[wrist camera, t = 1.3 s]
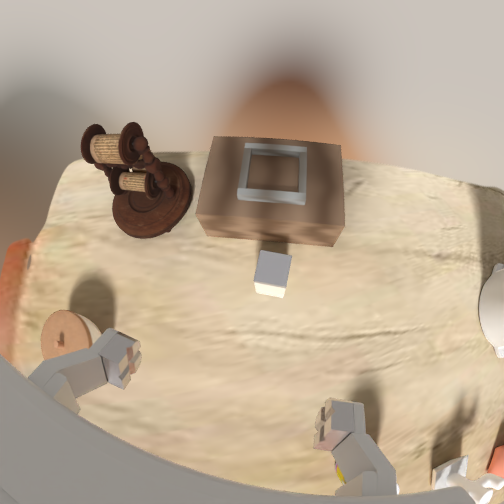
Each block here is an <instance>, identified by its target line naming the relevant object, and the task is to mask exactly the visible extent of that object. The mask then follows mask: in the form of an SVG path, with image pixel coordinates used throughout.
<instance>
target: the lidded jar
mask: <svg viewBox="0 0 504 504" xmlns="http://www.w3.org/2000/svg"><path fill="white" fill-rule="evenodd" d="M101 335H102V334H101V332H100V331H99V329H98V328H97V326H96V325H95V324H94V323H93V322H92V321H90V320H89V319H87V318H86V317H84V316H82V315H80V314H77V313H74V312H72V311H68V310H59V311H56V312H54V313H53V314H52V315H51V316H50V317H49V318H48V319H47V320H46V322H45V324H44V327H43V330H42V334H41V349H42V354H43V357H44V360H48V359H51V358H55V357H58V356H61V355H65V354H68V353H71V352H75V351H78V350H81V349H84V348H87V349H89V348H90V347H91V346H92V345H93V344H94V343H95V341H96V340H97V339H98V338H99V337H100V336H101Z"/></svg>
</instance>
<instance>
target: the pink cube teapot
mask: <svg viewBox="0 0 504 504" xmlns="http://www.w3.org/2000/svg"><path fill="white" fill-rule="evenodd" d="M487 473H491V474H494V475H497V476H499V477H502V478H503V479H504V445H502V446H499V447H497V448H495V451H494V455H493V458H492V461H491V464H490V466H489V469H488V472H487Z"/></svg>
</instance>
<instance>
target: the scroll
mask: <svg viewBox="0 0 504 504" xmlns="http://www.w3.org/2000/svg"><path fill="white" fill-rule="evenodd" d="M81 153H82V156H83V158H84V160H85V161H86V162H87V163H90V164H94V165H95V167H96V168H97V169H100V170H102V171H104V172H105V175H106V176H107V177H108V180H109V183H110V188H111V191H112V192H113V194H115V196H114V200H113V206H112V210H113V217H114V220H115V222H116V224H117V225H118V226H119V228H120V229H121V230H123V231H124V232H125V233H126V234H128V235H130V236H132V237H135V238H140V239H146V238H153V237H156V236H159V235H161V234H164V233H165V232H170V230H171V229H172V228H173V227H174V226H175V225H176V224H177V223H178V222H179V221H180V220H181V219H182V217H183V216H184V214H185V213H186V211H187V209H188V206H189V204H190V200H191V186H190V182H189V180H188V178H187V176H186V174H185V173H184V171H183V170H182V169H180V168H179V167H178V166H176V165H174V164H171V163H167V162H160V160H159V159H158V158H156V157H155V156H154V155H153V153H152V152H151V150H150V147H149V146H148V141H147V139H146V138H145V137H144V136H143V132H142V129H141V127H140V125H139V124H138V123H135V122H131V123H128V124H127V125H126V126H125V127H124V128H123V130H122V132H121V134H106V132H105V130H104V129H103V127H102V126H100V125H98V124H93V125H91V126H89V127H88V128H87V129H86V131H85V132H84V134H83V137H82V140H81ZM112 167H113V168H112ZM129 168H130V169H131V168H132V171H133V172H130V171H129Z"/></svg>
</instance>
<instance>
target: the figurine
mask: <svg viewBox="0 0 504 504" xmlns="http://www.w3.org/2000/svg"><path fill="white" fill-rule="evenodd" d="M467 463H468V455H466V456H463V457H459V458H455V459H452V460H450V461H448V462H446V463H444V464H442V465H440V466H438V467H436V468H434V469H433V472H432V483H431V489H432V490H437V489H442V488H447V487H452V486H461V487H462V488H463V489H465V490H466V491H467V493H468V494H469V495H470V496H471V497H472V498H473V500H474V501H475V503H476V504H487V503H488V502H489V501H490V498H491V496H492V494H493V490H491V489H488V488H486V487H491V488H494V489H497V490H499V489H501V488H502V487H503V485H504V479H503V478H502V477H499V476H497V475H494V474H491V473H487V474H484V475H483V476H481V477H480V478H478V479H477V480H475V481H471V480H469V479H467V478H466V471H467Z"/></svg>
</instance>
